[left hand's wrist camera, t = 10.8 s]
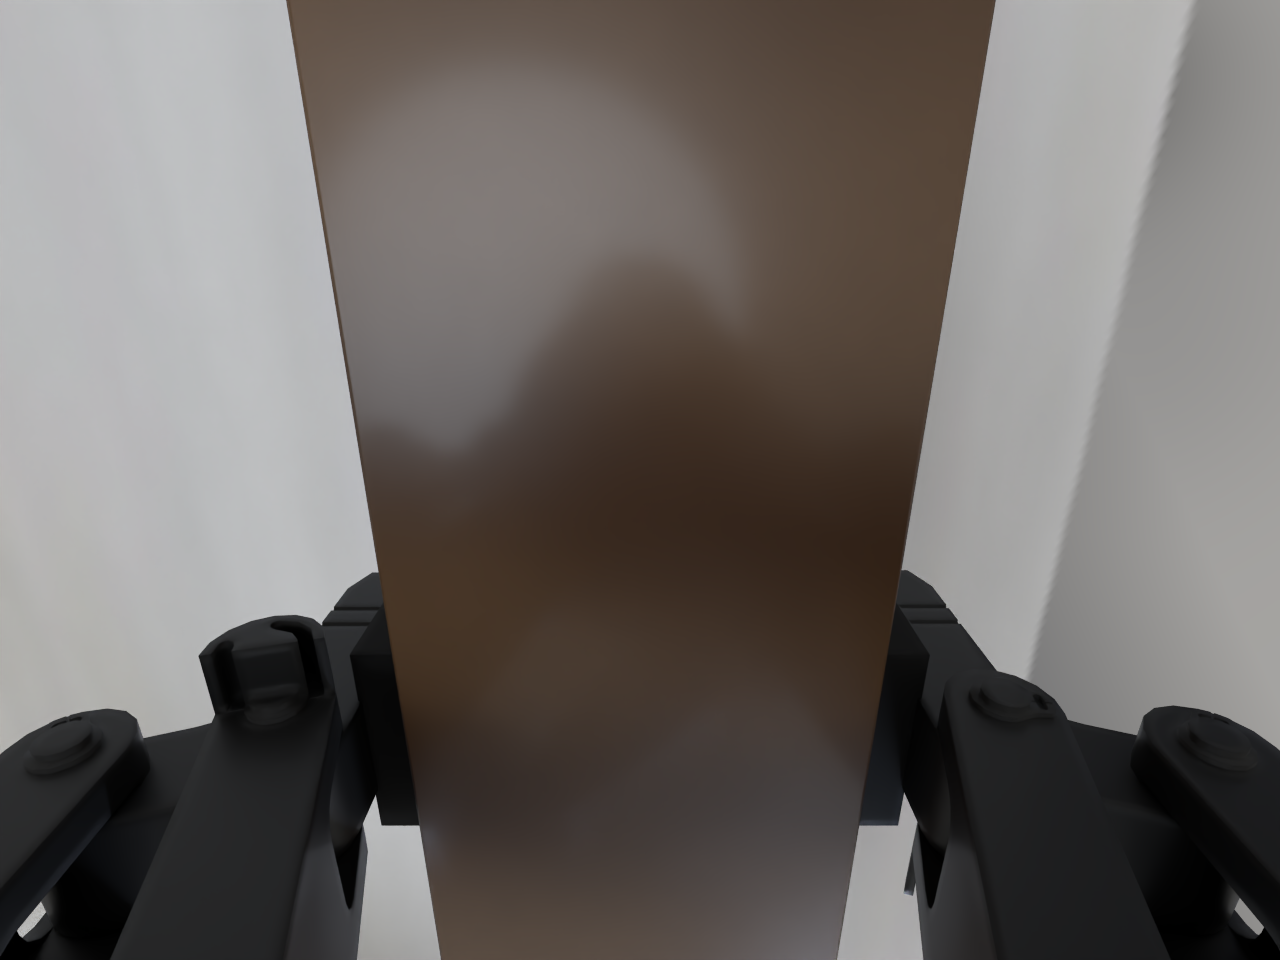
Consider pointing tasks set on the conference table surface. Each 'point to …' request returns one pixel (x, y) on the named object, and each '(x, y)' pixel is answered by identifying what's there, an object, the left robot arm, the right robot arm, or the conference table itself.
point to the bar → (640, 434)
